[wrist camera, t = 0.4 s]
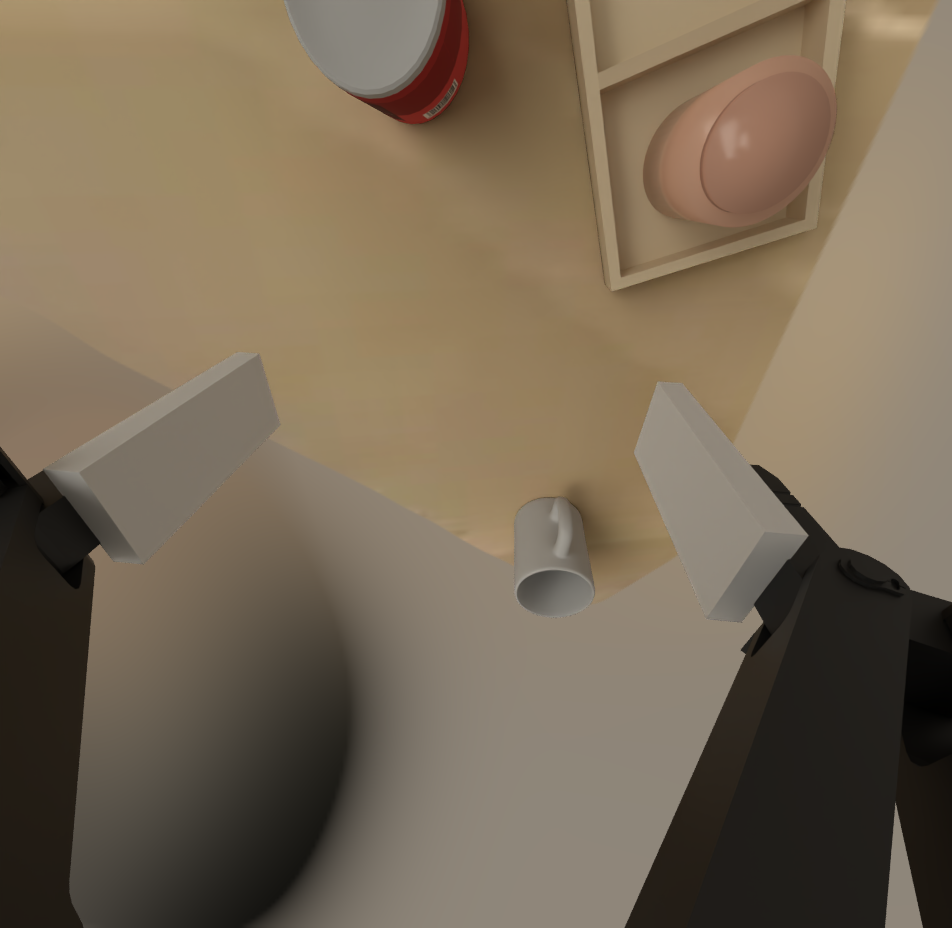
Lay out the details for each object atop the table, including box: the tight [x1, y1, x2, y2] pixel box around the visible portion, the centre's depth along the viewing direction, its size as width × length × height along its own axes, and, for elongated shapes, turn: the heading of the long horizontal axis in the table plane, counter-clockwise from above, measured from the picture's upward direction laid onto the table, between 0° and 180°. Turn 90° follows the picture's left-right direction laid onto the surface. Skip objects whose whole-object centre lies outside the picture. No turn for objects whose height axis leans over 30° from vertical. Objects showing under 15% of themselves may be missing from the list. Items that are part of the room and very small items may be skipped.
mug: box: [514, 497, 595, 618], centre depth 44 cm, size 12×8×11 cm
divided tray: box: [566, 0, 846, 291], centre depth 24 cm, size 25×14×3 cm, turn 19°
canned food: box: [284, 0, 469, 124], centre depth 22 cm, size 8×8×11 cm
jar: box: [643, 55, 837, 228], centre depth 24 cm, size 7×7×10 cm
